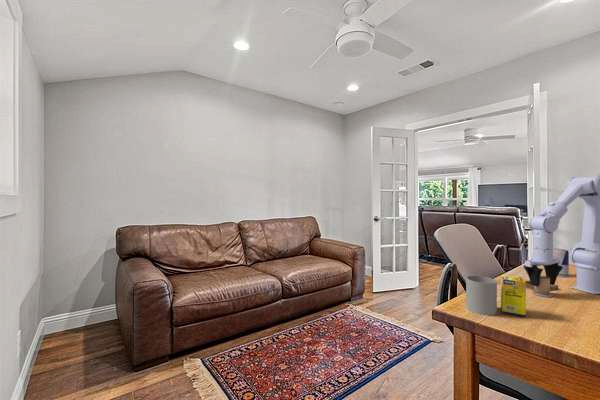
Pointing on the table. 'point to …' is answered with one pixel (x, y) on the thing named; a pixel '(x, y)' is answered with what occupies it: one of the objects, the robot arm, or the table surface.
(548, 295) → the glossy gray dome
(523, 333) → the table surface
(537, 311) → the table surface
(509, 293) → the supplement box
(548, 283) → the clay pot
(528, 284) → the frame
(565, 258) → the energy drink
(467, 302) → the cup
